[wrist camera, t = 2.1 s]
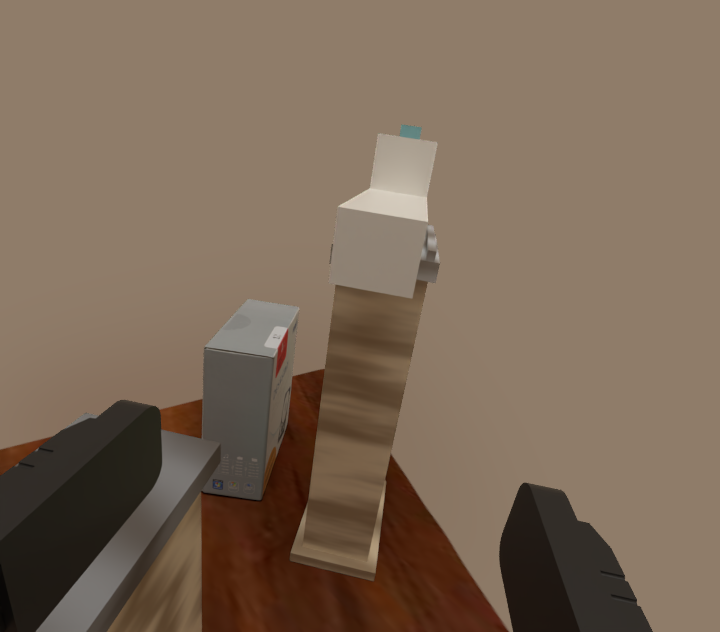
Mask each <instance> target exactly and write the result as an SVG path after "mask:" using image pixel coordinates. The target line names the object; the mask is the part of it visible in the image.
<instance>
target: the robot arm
mask: <svg viewBox="0 0 720 632" xmlns="http://www.w3.org/2000/svg"><path fill="white" fill-rule="evenodd" d="M161 468H162V439H161V415H160V411H159V409H158V408H157V407H156V406H151V405H147V404H142V403H137V402H132V401H128V400H120V401H118V402H116V403H115V404H113V405H112V406H111V407H109V408H108V409H107V410H106V411H104V412H103V413H102V414H101V415H99V416H98V417H97V418H96V419H95V418H88V419H86V420H84V421H81V422H79V423H77V424H75V425H72V426H70V427H68V428H66V429H63V430H61V431H60V432H59V433H58V434H56V435H55V436H53V437H52V438H51V439H49V440H48V441H47V442H45V443H44V444H43V445H41V446H40V447H39V449H38V451H33V452H32V453H31V454H29V455H28V456H27V457H25V458H24V459H23V460H21V461H20V462H19V464H18V466H17V467H15V466H13V467H12V468H10V469H9V470H8V471H6V472H5V473H4V474H2V475H1V476H0V632H36V631H37V629H38V628H39V627H40V626H41V624H42V623H43V622H44V621H45V620H46V618H47V617H48V616H49V615H50V613H51V612H52V611H53V610H54V609H55V607H56V606H57V605H58V604H59V603H60V601H61V600H62V599H63V598H64V596H65V595H66V594H67V593H68V592H69V590H70V589H71V588H72V587H73V585H74V584H75V583H76V582H77V581H78V579H79V578H80V577H81V576H82V574H83V573H84V572H85V571H86V570H87V568H88V567H89V566H90V565H91V563H92V562H93V561H94V560H95V559H96V557H97V556H98V555H99V554H100V552H101V551H102V550H103V549H104V548H105V546H106V545H107V544H108V543H109V541H110V540H111V539H112V538H113V537H114V535H115V534H116V533H117V532H118V531H119V529H120V528H121V527H122V526H123V524H124V523H125V522H126V521H127V520H128V518H129V517H130V516H131V515H132V513H133V512H134V511H135V510H136V509H137V507H138V506H139V505H140V504H141V502H142V501H143V500H144V499H145V498H146V496H147V495H148V494H149V493H150V491H151V490H152V489H153V487H154V486H155V484H156V482H157V480H158V477H159V475H160V472H161ZM499 552H500V553H499V555H500V556H499V557H500V567H501V574H502V579H503V583H504V588H505V593H506V598H507V603H508V608H509V613H510V618H511V623H512V628H513V632H653V631H652V629H651V627H650V625H649V623H648V621H647V619H646V617H645V615H644V613H643V611H642V609H641V607H640V606H637V599H636V597H635V595H634V593H633V591H632V589H631V587H630V585H629V583H628V582H627V581H625V575H624V573H623V571H622V569H621V567H620V565H619V563H618V561H617V559H616V557H615V555H614V553H613V551H612V549H611V548H610V546H608V544H607V543H606V542H605V541H604V540H603V539H602V537H601V536H600V535H599V534H598V533H597V532H596V531H595V529H594V528H593V527H592V526H591V525H590V524H589V523H586V522H581V521H578V520H577V518H576V516H575V514H574V511H573V509H572V507H571V505H570V502H569V500H568V498H567V496H566V495H565V493H564V492H563V491H561V490H558V489H553V488H548V487H543V486H539V485H534V484H529V483H523V484H522V485H521V486H520V488H519V490H518V493H517V496H516V498H515V501H514V504H513V507H512V509H511V512H510V514H509V517H508V520H507V522H506V525H505V528H504V530H503V533H502V537H501V541H500V551H499Z"/></svg>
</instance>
